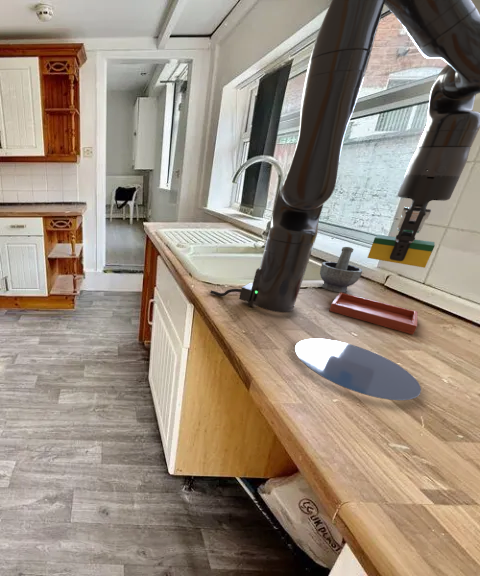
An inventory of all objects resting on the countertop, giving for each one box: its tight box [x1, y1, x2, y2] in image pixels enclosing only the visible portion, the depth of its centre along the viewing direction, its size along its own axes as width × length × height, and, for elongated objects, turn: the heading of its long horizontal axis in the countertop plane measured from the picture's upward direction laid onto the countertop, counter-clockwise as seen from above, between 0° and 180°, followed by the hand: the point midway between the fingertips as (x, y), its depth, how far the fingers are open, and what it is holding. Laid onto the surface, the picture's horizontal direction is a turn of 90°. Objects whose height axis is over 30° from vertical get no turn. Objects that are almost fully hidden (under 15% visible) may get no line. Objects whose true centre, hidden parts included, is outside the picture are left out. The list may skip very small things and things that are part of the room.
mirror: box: [294, 338, 422, 401], centre depth 53 cm, size 17×17×1 cm
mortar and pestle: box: [319, 246, 363, 293], centre depth 90 cm, size 11×9×12 cm
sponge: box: [367, 234, 436, 269], centre depth 65 cm, size 9×6×4 cm, turn 44°
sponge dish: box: [328, 292, 419, 335], centre depth 74 cm, size 15×11×2 cm
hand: (397, 257), depth 65 cm, fingers closed on sponge, 5 cm apart
